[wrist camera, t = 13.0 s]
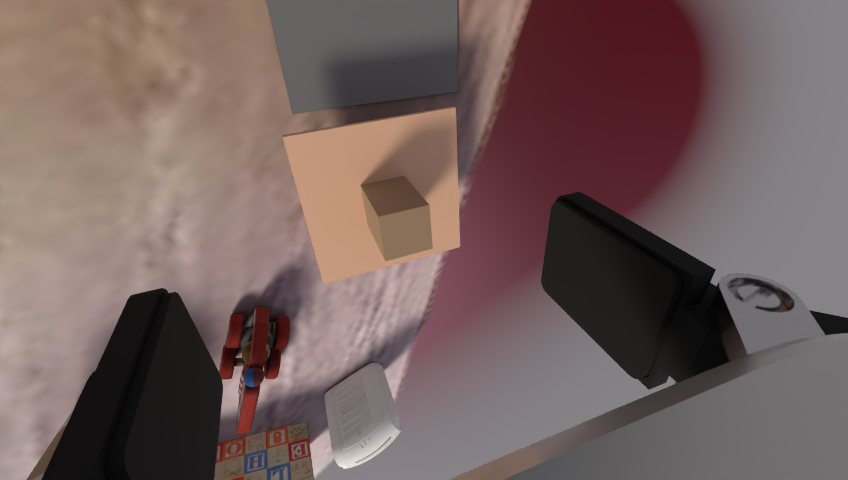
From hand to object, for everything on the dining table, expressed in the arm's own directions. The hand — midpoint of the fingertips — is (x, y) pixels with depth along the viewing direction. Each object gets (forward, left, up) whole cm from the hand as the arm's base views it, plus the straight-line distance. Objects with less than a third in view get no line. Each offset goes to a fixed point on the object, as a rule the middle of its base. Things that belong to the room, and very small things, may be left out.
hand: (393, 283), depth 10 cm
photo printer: (+45, -1, -34) cm, 56 cm away
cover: (+11, +6, -28) cm, 30 cm away
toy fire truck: (+30, -12, -34) cm, 47 cm away
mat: (-6, +8, -34) cm, 36 cm away
